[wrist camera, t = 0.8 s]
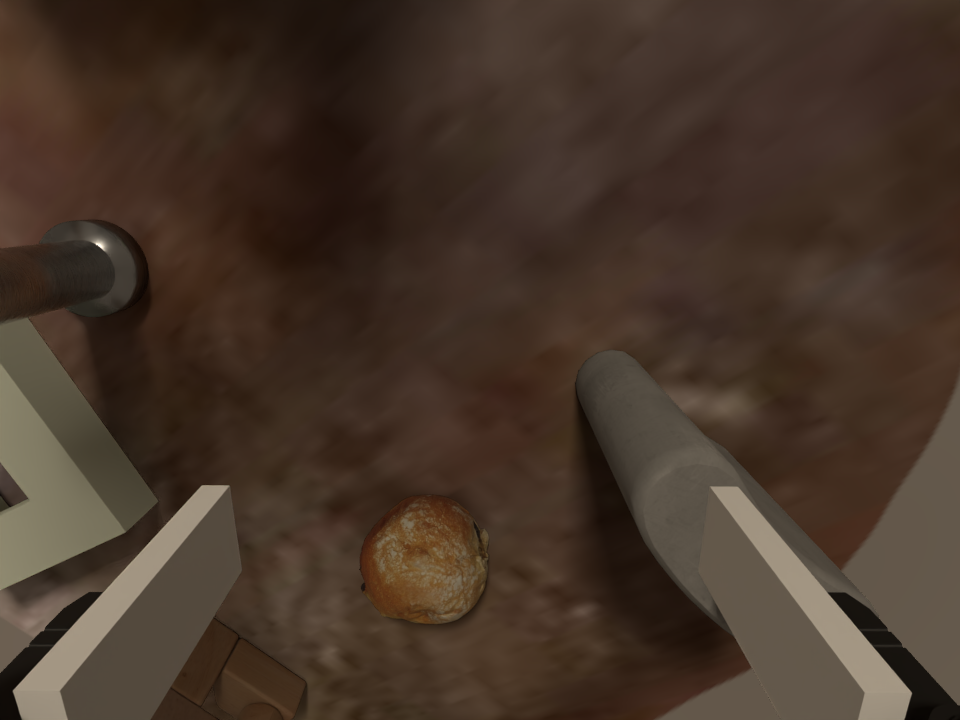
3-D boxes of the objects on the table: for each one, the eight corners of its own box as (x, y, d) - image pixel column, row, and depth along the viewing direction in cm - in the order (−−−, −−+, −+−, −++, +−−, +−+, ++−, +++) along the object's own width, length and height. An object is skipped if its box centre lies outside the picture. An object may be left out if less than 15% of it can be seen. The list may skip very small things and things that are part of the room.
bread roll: (490, 551, 51) (531, 589, 43) (394, 630, 48) (420, 686, 40) (432, 462, 48) (465, 486, 41) (327, 540, 45) (341, 581, 38)
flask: (552, 390, 42) (610, 553, 23) (610, 335, 41) (721, 458, 22) (685, 514, 45) (833, 751, 26) (743, 466, 44) (943, 677, 25)
